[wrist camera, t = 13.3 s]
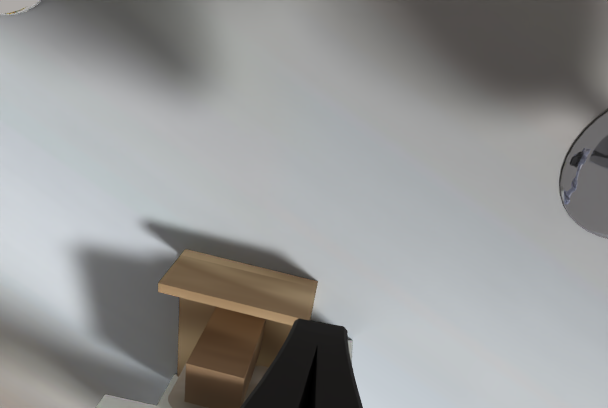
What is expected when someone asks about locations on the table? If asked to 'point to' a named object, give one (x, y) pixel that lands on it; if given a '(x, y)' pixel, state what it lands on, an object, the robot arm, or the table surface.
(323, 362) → the robot arm
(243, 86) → the table surface
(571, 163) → the wine glass
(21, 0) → the wineglass
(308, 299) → the wooden toy
